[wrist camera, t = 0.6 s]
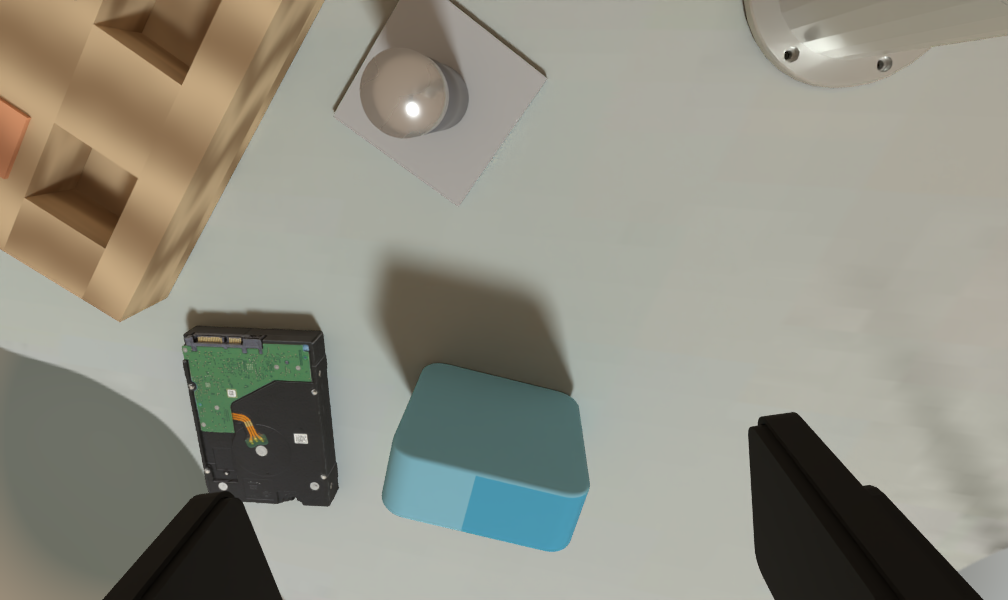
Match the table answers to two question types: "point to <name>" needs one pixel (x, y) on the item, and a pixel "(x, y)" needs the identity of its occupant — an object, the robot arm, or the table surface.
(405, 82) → the plug
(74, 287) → the socket block
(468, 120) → the rubber mat
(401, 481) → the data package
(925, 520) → the table surface
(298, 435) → the disk drive
